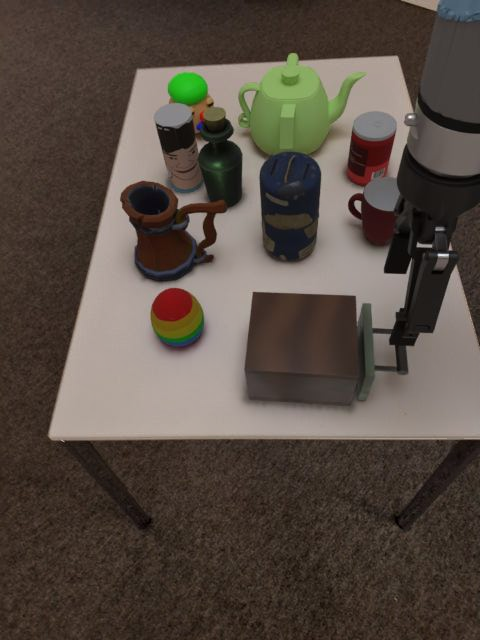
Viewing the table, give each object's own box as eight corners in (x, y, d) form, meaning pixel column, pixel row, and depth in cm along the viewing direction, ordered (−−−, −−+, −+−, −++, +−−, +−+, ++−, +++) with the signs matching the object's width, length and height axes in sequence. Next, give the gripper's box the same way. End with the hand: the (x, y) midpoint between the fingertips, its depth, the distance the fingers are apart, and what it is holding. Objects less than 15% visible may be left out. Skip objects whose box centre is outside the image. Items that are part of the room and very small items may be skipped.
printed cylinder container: (166, 191, 96) (149, 125, 84) (174, 169, 100) (158, 102, 87) (199, 193, 95) (187, 126, 83) (206, 170, 99) (195, 103, 86)
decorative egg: (206, 308, 80) (198, 271, 72) (207, 351, 76) (197, 316, 67) (158, 312, 81) (143, 275, 72) (155, 355, 76) (140, 321, 68)
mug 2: (335, 240, 86) (340, 198, 78) (352, 210, 90) (359, 167, 81) (392, 259, 83) (405, 217, 75) (408, 228, 86) (421, 184, 78)
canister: (325, 235, 87) (334, 152, 72) (301, 272, 83) (305, 192, 68) (278, 218, 90) (277, 135, 75) (253, 253, 86) (246, 172, 71)
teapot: (229, 135, 105) (222, 70, 93) (299, 97, 110) (301, 31, 98) (285, 178, 96) (286, 113, 84) (358, 135, 102) (368, 67, 89)
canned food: (391, 164, 96) (402, 115, 87) (379, 191, 92) (390, 142, 83) (353, 156, 98) (360, 107, 89) (340, 181, 94) (347, 133, 85)
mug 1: (239, 238, 88) (231, 173, 76) (228, 289, 82) (218, 227, 70) (145, 231, 91) (123, 167, 78) (127, 280, 85) (101, 219, 72)
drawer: (396, 333, 74) (407, 304, 67) (402, 402, 68) (415, 378, 61) (276, 328, 76) (275, 299, 70) (271, 394, 70) (270, 370, 64)
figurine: (165, 128, 108) (153, 76, 98) (200, 110, 110) (192, 58, 100) (192, 153, 102) (182, 100, 92) (229, 133, 105) (223, 81, 95)
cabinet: (348, 331, 76) (356, 295, 68) (350, 405, 69) (358, 376, 61) (255, 326, 78) (252, 291, 70) (248, 399, 71) (244, 369, 63)
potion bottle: (223, 176, 98) (212, 93, 83) (254, 193, 94) (249, 109, 79) (196, 199, 95) (179, 117, 79) (227, 217, 91) (216, 135, 76)
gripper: (394, 74, 46) (362, 235, 65) (417, 254, 34) (370, 388, 53) (477, 72, 45) (420, 236, 64) (531, 257, 33) (441, 392, 52)
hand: (397, 305), depth 58 cm, fingers open, 10 cm apart
